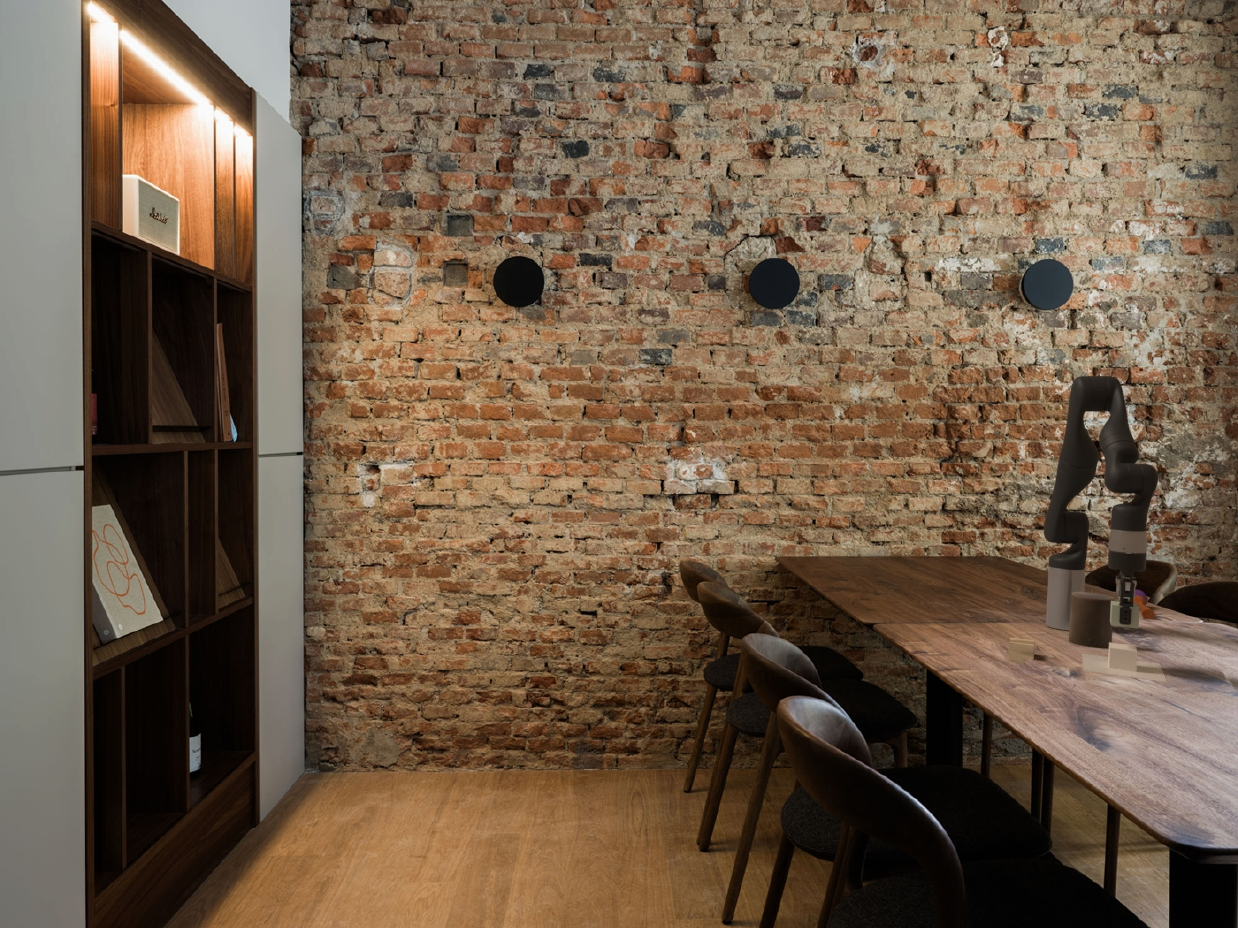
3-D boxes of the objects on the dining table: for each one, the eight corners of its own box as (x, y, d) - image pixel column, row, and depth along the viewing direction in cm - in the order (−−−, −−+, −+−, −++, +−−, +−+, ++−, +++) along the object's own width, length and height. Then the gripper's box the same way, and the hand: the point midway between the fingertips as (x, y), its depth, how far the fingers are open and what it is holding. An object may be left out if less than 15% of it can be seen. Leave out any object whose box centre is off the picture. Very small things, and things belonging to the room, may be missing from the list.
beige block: (1108, 662, 193) (1108, 642, 193) (1134, 665, 191) (1135, 645, 190) (1109, 668, 188) (1109, 647, 188) (1136, 671, 186) (1137, 651, 186)
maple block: (1009, 656, 202) (1010, 637, 201) (1034, 659, 199) (1034, 640, 199) (1008, 661, 197) (1009, 642, 197) (1033, 665, 194) (1034, 645, 194)
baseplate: (1081, 658, 200) (1082, 653, 200) (1159, 668, 193) (1159, 663, 193) (1082, 675, 186) (1083, 670, 186) (1166, 687, 179) (1166, 681, 179)
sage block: (1110, 620, 193) (1110, 600, 192) (1136, 623, 190) (1137, 603, 190) (1111, 625, 188) (1111, 604, 188) (1138, 628, 185) (1139, 607, 185)
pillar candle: (1090, 653, 205) (1093, 594, 204) (1059, 643, 214) (1062, 587, 213) (1120, 651, 207) (1124, 593, 207) (1089, 641, 217) (1092, 586, 216)
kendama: (1135, 605, 245) (1122, 588, 263) (1138, 624, 245) (1125, 606, 263) (1158, 603, 242) (1143, 586, 261) (1161, 623, 243) (1146, 604, 261)
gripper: (1107, 544, 196) (1104, 613, 197) (1109, 551, 184) (1106, 625, 185) (1144, 546, 193) (1140, 617, 193) (1149, 554, 180) (1145, 630, 181)
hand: (1124, 621), depth 189 cm, fingers closed on sage block, 5 cm apart
